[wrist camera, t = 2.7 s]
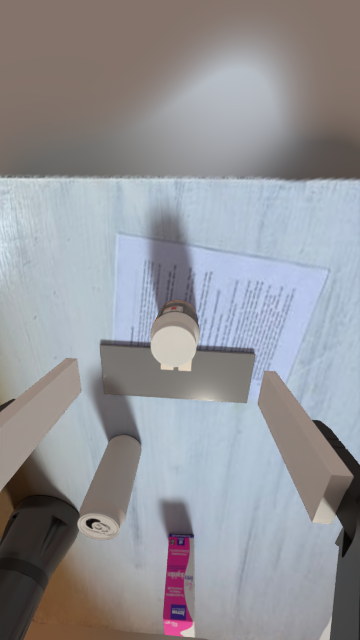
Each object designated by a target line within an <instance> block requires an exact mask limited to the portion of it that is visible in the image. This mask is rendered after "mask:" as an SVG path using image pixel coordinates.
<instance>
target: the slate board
mask: <svg viewBox="0 0 360 640" xmlns="http://www.w3.org/2000/svg"><path fill="white" fill-rule="evenodd" d="M100 354H101V364H102V375H103V386H104V394H114V395H129V396H145V397H160V398H175V399H190V400H206V401H221V402H236V403H247V399H248V394H249V388H250V383H251V377H252V371H253V366H254V360H255V353H248V352H231V351H214V350H197V349H196V353H195V355H194V357H193V358H192V360H191V361H190V362H188V363H187V364H185V365H183V366H179V367H169V366H165V365H163V364H161V363H160V362H158V361H157V360H156V359H155V357H154V356H153V354H152V351H151V347H145V346H128V345H110V344H101V345H100Z"/></svg>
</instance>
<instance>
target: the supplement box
mask: <svg viewBox="0 0 360 640" xmlns="http://www.w3.org/2000/svg"><path fill="white" fill-rule="evenodd" d="M163 622H164V633H165V635H175V636H185V637H195V569H194V535H175V534H170V535H169V546H168V559H167V572H166V584H165V598H164V610H163Z"/></svg>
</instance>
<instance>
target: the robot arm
mask: <svg viewBox="0 0 360 640" xmlns="http://www.w3.org/2000/svg"><path fill="white" fill-rule="evenodd" d="M81 391H82V390H81V383H80V376H79V369H78V362H77V359H73V358H66V359H65V360H64V361H62V362H61V363H60V364H59V365H57V366H56V367H55V368H54V369H52V370H51V371H50V372H49V373H48V374H46V375H45V376H44V377H43V378H41V379H40V380H39V381H38V382H37V383H35V384H34V385H33V386H32V387H30V388H29V389H28V390H27V391H26V392H24V393H23V394H22V395H21V396H19V397H18V398H17V399H12V400H10V401H8V402H6V403H4V404H3V405H1V406H0V491H1V490H2V489H3V487H4V486H5V485H6V484H7V483H8V481H9V480H10V479H11V478H12V476H13V475H14V474H15V473H16V471H17V470H18V469H19V468H20V466H21V465H22V464H23V463H24V462H25V460H26V459H27V458H28V457H29V455H30V454H31V453H32V452H33V450H34V449H35V448H36V447H37V445H38V444H39V443H40V442H41V441H42V439H43V438H44V437H45V436H46V434H47V433H48V432H49V431H50V429H51V428H52V427H53V426H54V425H55V423H56V422H57V421H58V420H59V418H60V417H61V416H62V415H63V413H64V412H65V411H66V410H67V408H68V407H69V406H70V405H71V404H72V402H73V401H74V400H75V399H76V397H77V396H78V395H79V394H80V392H81ZM258 405H259V408H260V410H261V412H262V414H263V416H264V419H265V421H266V423H267V425H268V427H269V429H270V432H271V434H272V436H273V438H274V440H275V443H276V445H277V447H278V449H279V451H280V453H281V456H282V458H283V460H284V462H285V464H286V467H287V469H288V471H289V473H290V475H291V478H292V480H293V482H294V484H295V486H296V488H297V491H298V493H299V495H300V497H301V499H302V502H303V504H304V506H305V508H306V510H307V512H308V515H309V517H310V519H311V521H312V522H313V523H324V524H332V522H333V520H334V518H335V516H336V515H337V517H338V519H339V520H340V522H341V524H342V526H343V528H342V530H341V532H340V534H339V536H338V538H337V540H336V542H335V544H336V545H337V546H339V554H338V564H337V573H336V583H335V593H334V603H333V613H332V623H331V632H330V640H360V465H359V463H358V462H357V461H356V460H355V458H354V457H353V456H352V455H351V454H350V452H349V451H348V450H347V449H346V448H345V446H344V445H343V444H342V442H341V441H339V439H338V438H337V436H336V435H335V434H334V433H333V431H332V430H331V429H330V428H329V427H327V426H326V425H325V424H324V423H322V422H321V421H319V420H311V418H310V417H309V416H308V414H307V413H306V412H305V410H304V409H303V408H302V406H301V405H300V404H299V402H298V401H297V400H296V398H295V397H294V395H293V394H292V393H291V391H290V390H289V389H288V387H287V386H286V385H285V383H284V382H283V381H282V379H281V378H280V377H279V375H278V374H277V373H276V372H275V371H264V375H263V380H262V385H261V389H260V394H259V399H258ZM79 518H80V516H79V514H78V513H77V511H76V510H75V509H74V508H73V507H71V506H70V505H69V504H67V503H65V502H63V501H61V500H59V499H56V498H53V497H48V496H31V497H28V498H25V499H23V500H22V501H21V502H20V503H19V504H18V505H17V507H16V508H15V510H14V511H13V513H12V514H11V516H10V518H9V520H8V523H7V525H6V527H5V530H4V532H3V535H2V537H1V539H0V640H24V638H25V635H26V633H27V631H28V629H29V626H30V624H31V622H32V619H33V617H34V615H35V612H36V610H37V608H38V605H39V603H40V601H41V598H42V596H43V593H44V591H45V589H46V587H47V584H48V582H49V580H50V578H51V576H52V574H53V573H54V571H55V570H56V568H57V567H58V565H59V564H60V562H61V561H62V559H63V558H64V556H65V555H66V553H67V552H68V550H69V549H70V547H71V546H72V544H73V543H74V541H75V539H76V537H77V535H78V532H79V528H78V525H77V523H78V520H79Z"/></svg>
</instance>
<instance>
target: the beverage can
mask: <svg viewBox="0 0 360 640" xmlns="http://www.w3.org/2000/svg"><path fill="white" fill-rule="evenodd" d="M140 455H141V446H140V444H139V443H138V441H137V440H135V439H134V438H133V437H131V436H128V435H120V436H116V437H114V438H112V439H111V440H110V441H109V443H108V445H107V448H106V450H105V452H104V455H103V457H102V459H101V462H100V464H99V466H98V469H97V471H96V473H95V476H94V478H93V480H92V482H91V485H90V487H89V489H88V492H87V494H86V496H85V499H84V501H83V503H82V506H81V508H80V518H79V520H78V523H77V525H78V528H79V530H80V531H81V532H82V533H83V534H84V535H86V536H88V537H90V538H93V539H97V540H108V539H112V538H114V537H116V536H117V535H118V533H119V530H120V527H121V526H122V524H123V523H124V521H125V517H126V513H127V509H128V505H129V501H130V497H131V492H132V488H133V484H134V480H135V476H136V472H137V468H138V463H139V459H140Z"/></svg>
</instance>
